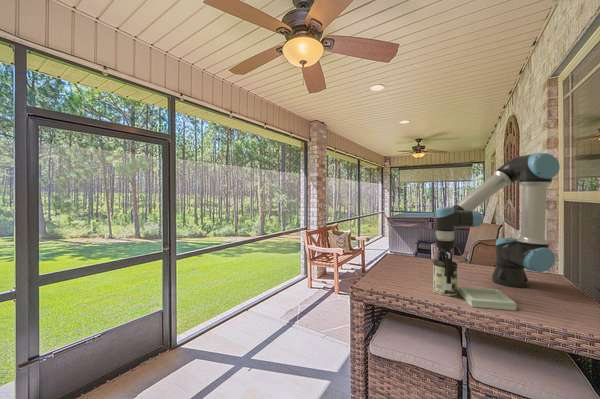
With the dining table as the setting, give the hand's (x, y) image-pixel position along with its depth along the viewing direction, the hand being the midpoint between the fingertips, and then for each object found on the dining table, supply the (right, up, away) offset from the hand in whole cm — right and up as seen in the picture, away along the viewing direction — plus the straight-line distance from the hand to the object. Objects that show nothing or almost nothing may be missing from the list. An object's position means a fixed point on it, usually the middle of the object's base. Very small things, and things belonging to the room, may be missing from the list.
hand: (444, 286), depth 130 cm
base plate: (+12, -3, -11) cm, 16 cm away
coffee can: (0, -3, 0) cm, 3 cm away
